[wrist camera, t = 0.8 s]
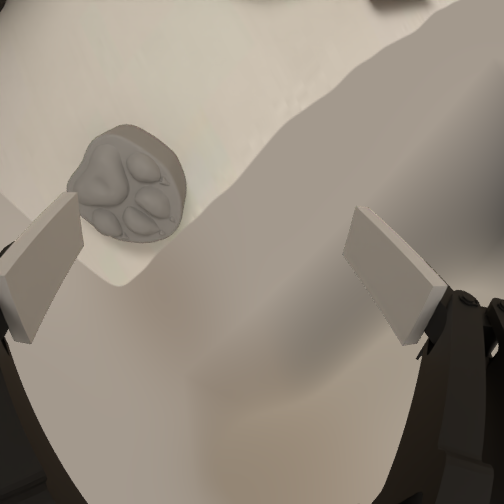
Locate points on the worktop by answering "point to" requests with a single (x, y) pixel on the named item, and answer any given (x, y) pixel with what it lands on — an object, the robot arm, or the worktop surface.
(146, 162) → the lumpy-topped squat cylinder
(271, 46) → the worktop surface
